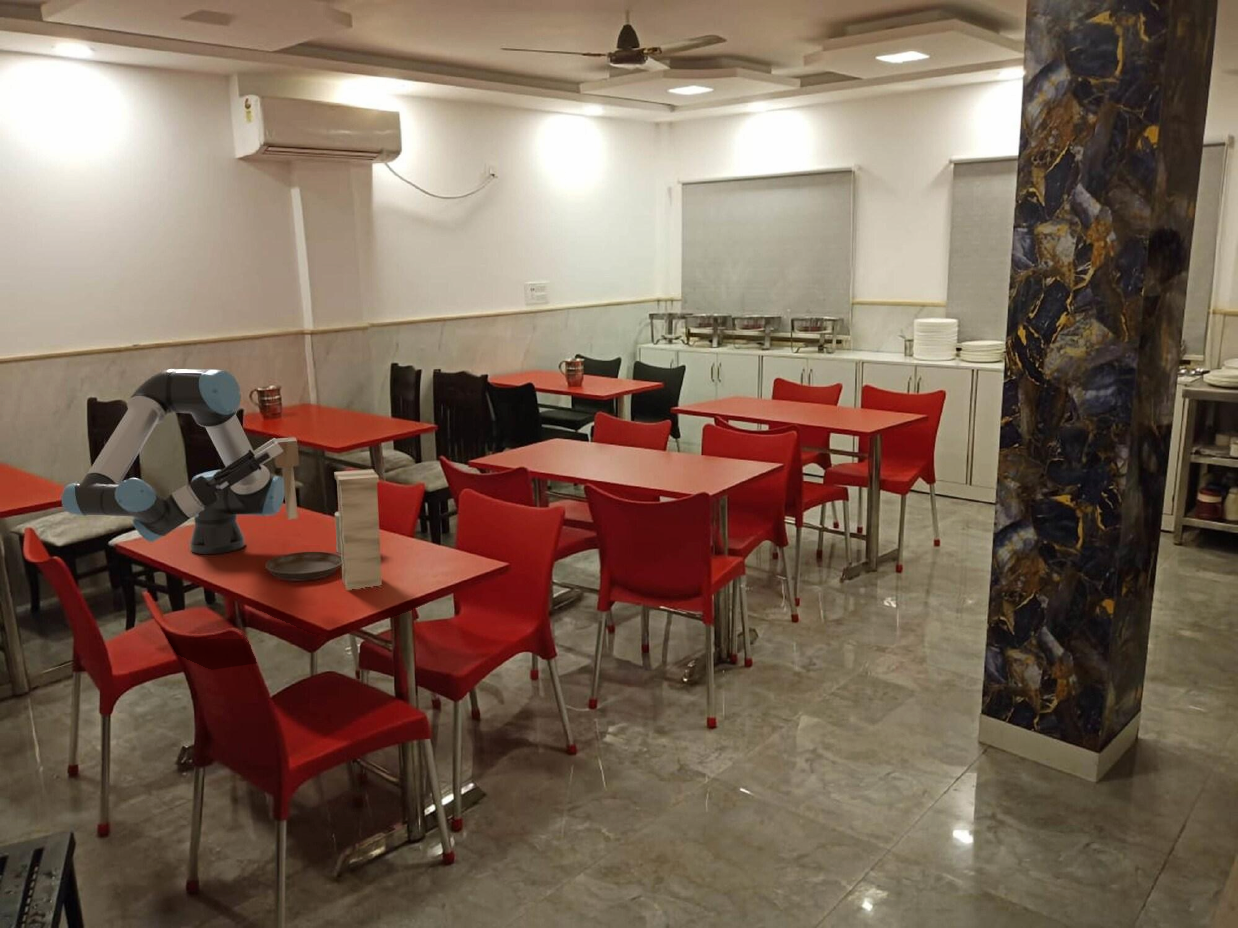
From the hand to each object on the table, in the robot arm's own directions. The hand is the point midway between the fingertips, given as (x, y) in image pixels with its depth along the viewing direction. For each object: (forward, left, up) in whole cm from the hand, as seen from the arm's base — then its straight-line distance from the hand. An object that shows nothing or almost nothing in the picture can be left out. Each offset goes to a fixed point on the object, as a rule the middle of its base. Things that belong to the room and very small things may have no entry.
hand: (278, 444), depth 250 cm
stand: (0, +19, -39) cm, 44 cm away
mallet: (0, +5, -9) cm, 10 cm away
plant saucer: (-16, +6, -40) cm, 43 cm away
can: (-32, +21, -40) cm, 55 cm away
